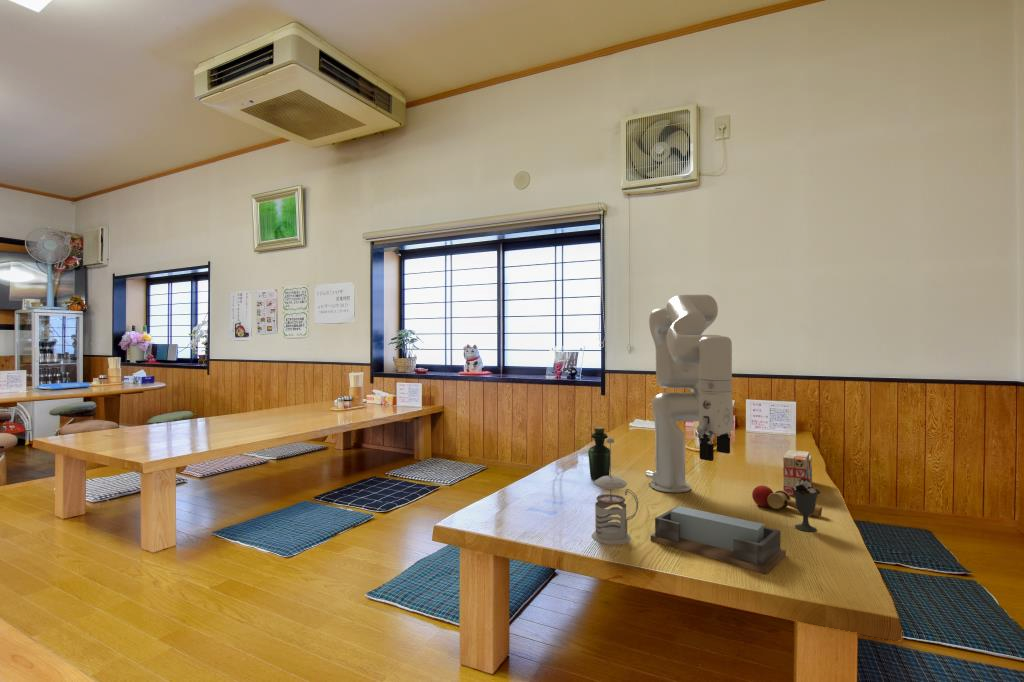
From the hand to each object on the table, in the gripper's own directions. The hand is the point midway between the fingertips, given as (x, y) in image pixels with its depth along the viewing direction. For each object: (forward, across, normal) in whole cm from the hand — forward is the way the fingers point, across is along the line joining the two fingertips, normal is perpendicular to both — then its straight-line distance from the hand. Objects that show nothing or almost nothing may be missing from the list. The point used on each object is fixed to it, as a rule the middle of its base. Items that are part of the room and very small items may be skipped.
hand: (715, 456), depth 126 cm
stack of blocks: (+22, +62, -1) cm, 66 cm away
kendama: (+22, +36, -5) cm, 42 cm away
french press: (+21, -15, +19) cm, 32 cm away
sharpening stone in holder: (+21, -4, -2) cm, 21 cm away
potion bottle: (+22, +27, +53) cm, 64 cm away
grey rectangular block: (+20, -4, -2) cm, 20 cm away
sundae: (+21, +24, -14) cm, 35 cm away
